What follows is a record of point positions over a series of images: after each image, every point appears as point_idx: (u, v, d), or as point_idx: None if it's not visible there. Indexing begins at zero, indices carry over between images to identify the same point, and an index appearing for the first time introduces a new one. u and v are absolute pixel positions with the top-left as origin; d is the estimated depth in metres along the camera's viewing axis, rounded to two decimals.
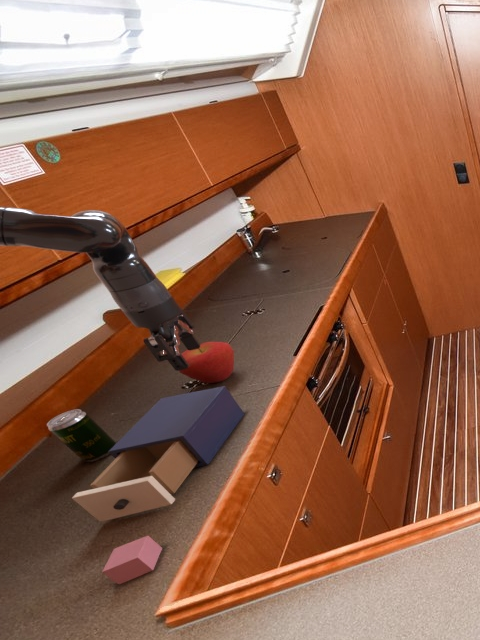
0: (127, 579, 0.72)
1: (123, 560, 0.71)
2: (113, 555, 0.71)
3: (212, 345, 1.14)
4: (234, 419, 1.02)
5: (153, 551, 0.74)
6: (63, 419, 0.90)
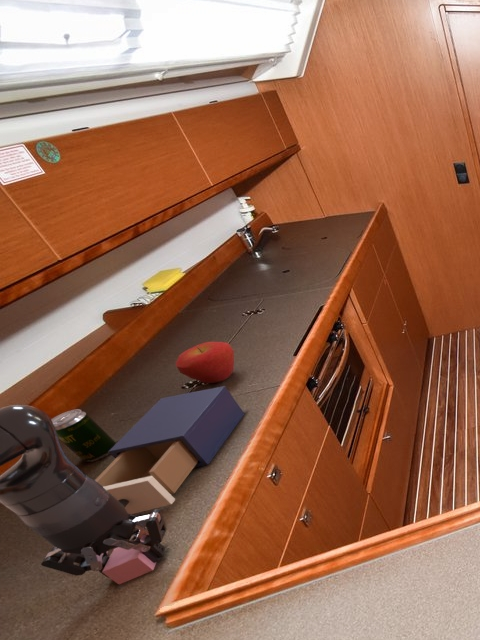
0: (127, 579, 0.72)
1: (123, 560, 0.71)
2: (113, 555, 0.71)
3: (212, 345, 1.14)
4: (234, 419, 1.02)
5: None
6: (63, 419, 0.90)
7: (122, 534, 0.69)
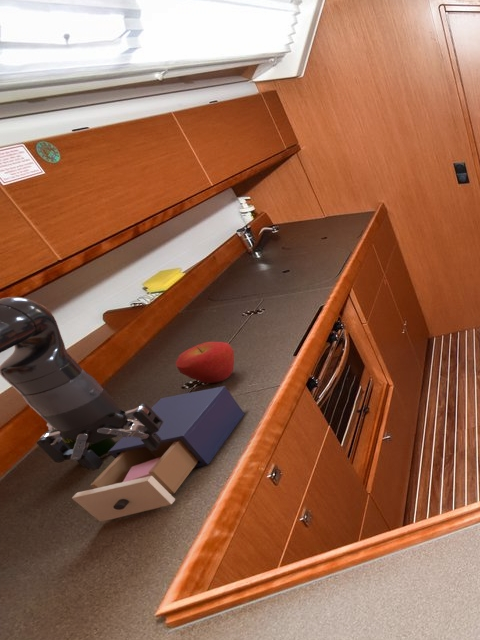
0: None
1: (139, 475, 0.83)
2: (131, 471, 0.84)
3: (212, 345, 1.14)
4: (234, 419, 1.02)
5: None
6: None
7: (114, 426, 0.78)
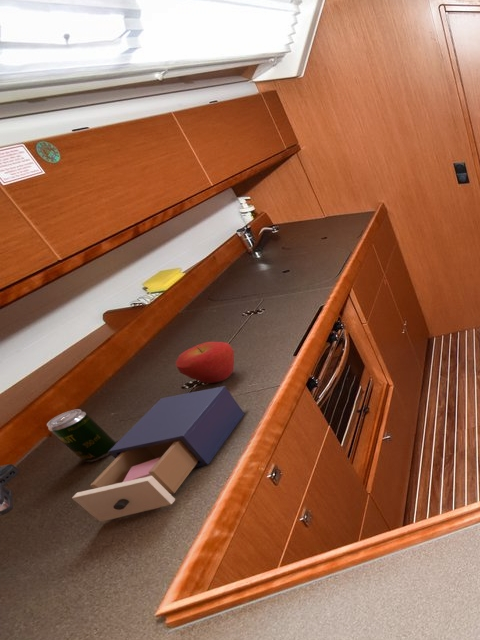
0: None
1: (139, 475, 0.83)
2: (131, 471, 0.84)
3: (212, 345, 1.14)
4: (234, 419, 1.02)
5: None
6: (63, 419, 0.90)
7: None
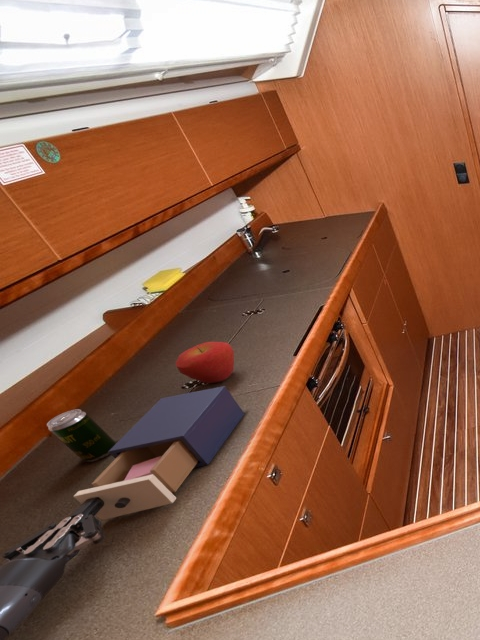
0: None
1: (141, 473, 0.83)
2: (132, 470, 0.84)
3: (212, 345, 1.14)
4: (234, 419, 1.02)
5: None
6: (63, 419, 0.90)
7: None
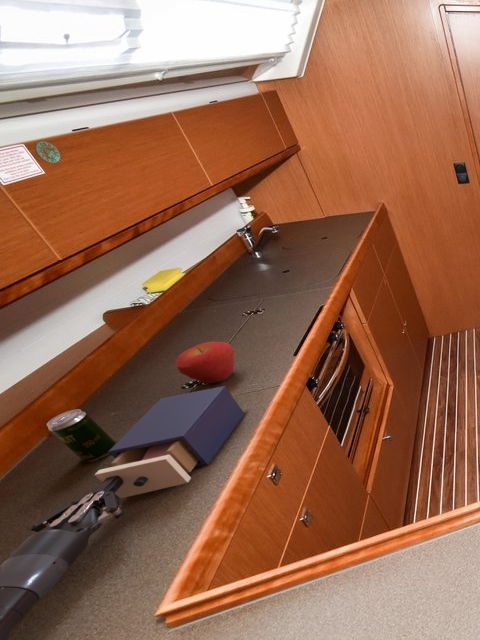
0: None
1: (157, 454, 0.87)
2: (149, 451, 0.88)
3: (212, 345, 1.14)
4: (234, 419, 1.02)
5: None
6: (63, 419, 0.90)
7: None
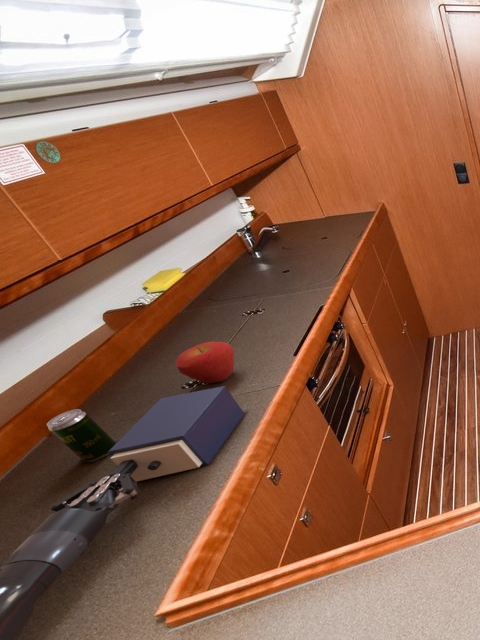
0: None
1: None
2: None
3: (212, 345, 1.14)
4: (234, 419, 1.02)
5: None
6: (63, 419, 0.90)
7: None
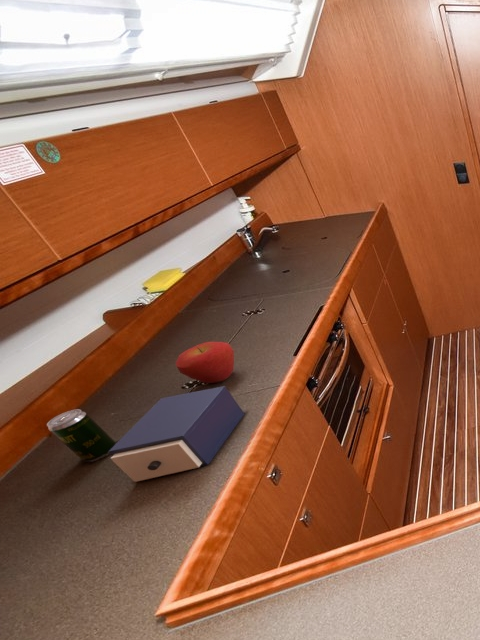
0: None
1: None
2: None
3: (212, 345, 1.14)
4: (234, 419, 1.02)
5: None
6: (63, 419, 0.90)
7: None
